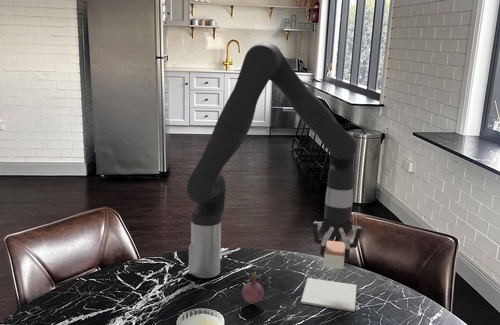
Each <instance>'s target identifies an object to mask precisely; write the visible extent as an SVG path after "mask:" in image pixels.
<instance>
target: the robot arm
mask: <svg viewBox="0 0 500 325" xmlns="http://www.w3.org/2000/svg"><path fill="white" fill-rule="evenodd" d="M269 81H270V82H272V83H273V84H274V85H275V86H276V87H277V88H278V89H279V90H280V91H281V92H282V94H283V95H284V96H285V97H286V99H287V101H288V102H289V104H290V106H291V108H292V109H293V110H294V112H295V114H297V116H298V117H299V118H300V120H302V122H304V124H305V125H306V126H307V127H308V128H309V129H310V130H311V131H312V132H313V133H314V134H315V135H316V136H317V138H318V139H319V140H320V141H321V143H322V144H323V145H324V147H325V148H326V149H327V151H329V168H328V173H327V183H326V185H327V187H326V192H325V201H324V204H325V205H324V215H323V220H322V221H317V220H314V221H313V224H312V231H313V238H314V243H315V244H319V245H320V251H319V252H320V257H322V258H323V259H324V253H325V248H326V243H327V241H329V239H330V238H338V239H342V242H344V244H345V256H344V262H347V260H349V259H350V253H351V249H352V248H353V249H357V247H358V243H359V241H360V240H359V239H360V236H361V233H362V226H361V225H353V223H352V214H353V203H354V202H353V201H354V192H353V190H354V188H353V187H354V177H355V176H354V175H355V174H354V172H355V171H354V159H355V155H356V152H357V149H358V146H357V141H356V138H355V136H354V135H353V134H352V133H351V132H349V131H347V130H345V129H344V128H343V126H342V125H341V124H340V123H339V122H338V121H337V119H336V117H335V116H334V115H333V113H332V112H331V111H330V110H329V109H328V108H327V107H326V106H325V105H324V104H323V102H321V100H319V98H317V97H318V96H316V95H315V94H314V93H313V91H311V89H310V88H308V86H307V85H306V84H305V83H304V82H303V81H302V79H301V78H300V77H299V76H298V75H297V73H296V71H294V68H292V67H291V65H290V63H289V62H288V60H287V59H286V57H285V55H284V54H283V53H282V51H281V49H280V48H279V47H278V46H277V45H276V44H274V43H271V42H268V41H264V42H259V43H257V44H255V45H252V47H251V46H250V48H249V49H248V50H247V52H246V53H245V56H244V59H243V60H242V65H241V68H240V71H239V73H238V77H237V79H236V82H235V85H234V86H233V90H232V91H231V94H230V95H229V97H228V98H227V101H226V102H225V104H224V107H223V109H222V110H221V113H220V114H219V116H218V119H217V121H216V123H215V126H214V128H213V131H212V133H211V136H210V137H209V139H208V142H207V144H206V147H205V149H204V150H203V153H202V155H201V157H200V159H199V161H198V163H197V164H196V166H195V168H194V170H193V171H192V173H191V175H189V178H188V179H187V183H186V193H187V196H188V198H189V200H191V202H193V203H196V204H197V205H196V206H195V208H194V209H193V210H192V212H191V215H190V216H191V217H190V218H191V219H190V220H191V223H190V226H191V228H190V229H191V232H190V238H191V241H190V242H191V243H190V244H189V245H188V274H190V275H192V276H193V277H196V278H200V279H211V278H215V277H217V276H218V275H220V273H221V251H222V250H221V242H222V239H221V238H222V216H223V214H224V211H225V199H226V198H225V197H226V182H225V177H224V176H223V174H222V173H221V171H222V170H223V168H224V167H225V165H226V164H227V163H228V162H229V160H230V159H231V158H232V157H233V156H234V155H235V153H237V151H238V150H239V149H240V147H241V146H242V144H243V143H244V141H245V139H246V137H247V135H248V133H249V131H250V129H251V126H252V124H253V120H254V117H255V113H256V107H257V105H258V101H259V98H260V97H261V95H262V94H263V91H264V89H265V88H266V86H267V84H268V83H269ZM321 227H322V228H323V229H324V230H325V233H324V235H323V237H322V238H321V235H320V230H321ZM351 230H352V233H353V234H354V237H353V241H350V239H349V235H348V234H349V233H350V232H351Z"/></svg>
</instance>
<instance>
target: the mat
mask: <svg viewBox="0 0 500 325" xmlns="http://www.w3.org/2000/svg"><path fill="white" fill-rule="evenodd" d="M357 286H358V285H357V284H353V283H347V282H339V281H333V280H332V281H330V280H325V279H320V278H319V279H318V278H311V277H307V279H306V282H305V285H304V289H303V293H302V297H301V300H300V304H303V305H310V306H315V307H316V306H317V307H324V308H330V309H336V310H342V311H348V312H349V311H350V312H355V311H356V300H357Z"/></svg>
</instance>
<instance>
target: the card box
mask: <svg viewBox="0 0 500 325" xmlns="http://www.w3.org/2000/svg"><path fill="white" fill-rule="evenodd" d="M344 256H345V244H344V242H343V241H335V240H328V241H327V242H326V248H325V253H324V258H323V268H330V269H331V268H332V269H338V270H339V269H340V270H344V266H345V265H344V264H345V261H344Z"/></svg>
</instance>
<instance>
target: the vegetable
mask: <svg viewBox="0 0 500 325" xmlns="http://www.w3.org/2000/svg"><path fill="white" fill-rule="evenodd" d="M256 280H257V272H256V271H254V272H253V275H252V278H251V281H248V282H247V283H245V284H244V285H243V286H242V290H241V295H242V298H243V300H244V301H245V302H246V303H248V304H252V305H255V304H257V303H259V302H260V301H261V300H262V299H263V297H264V295H265V291H264V290H265V289H264V288H263V286H262V285H261V284H260V283H259V282H257V281H256Z"/></svg>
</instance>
